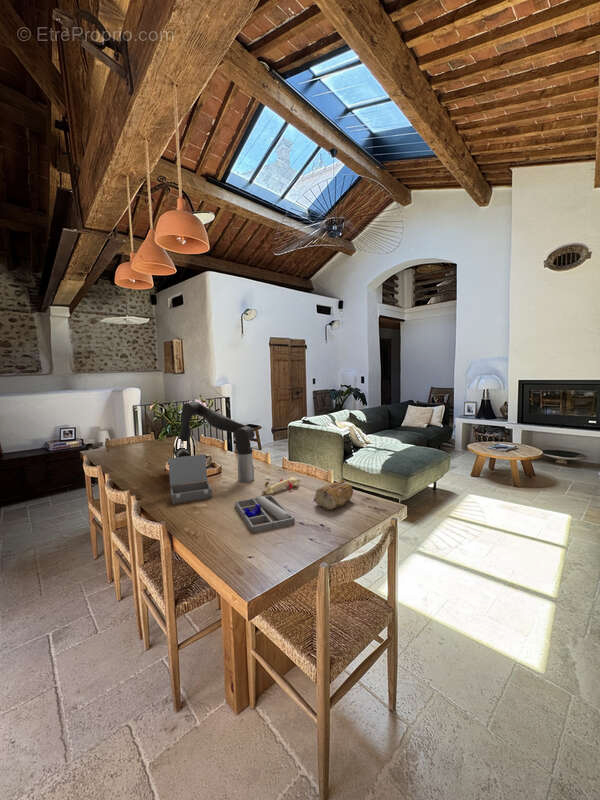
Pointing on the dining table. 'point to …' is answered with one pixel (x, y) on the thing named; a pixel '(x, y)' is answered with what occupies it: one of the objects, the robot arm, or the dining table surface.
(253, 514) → the cable holder
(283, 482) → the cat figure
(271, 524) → the desk organiser
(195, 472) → the cover
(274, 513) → the tube
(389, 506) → the dining table surface
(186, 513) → the dining table surface
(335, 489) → the petrified wood
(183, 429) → the robot arm
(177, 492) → the dark grey box
